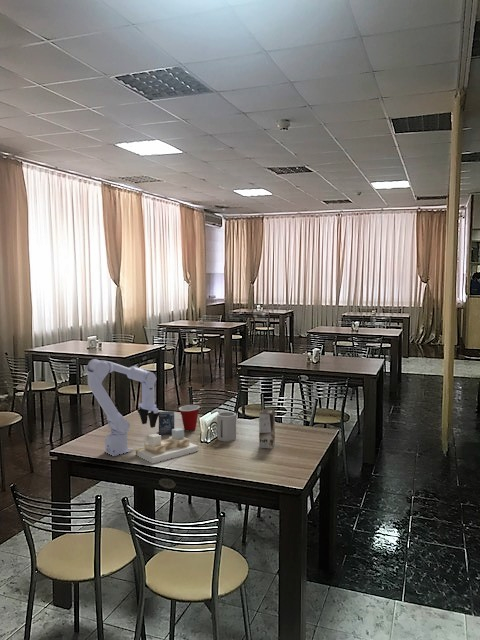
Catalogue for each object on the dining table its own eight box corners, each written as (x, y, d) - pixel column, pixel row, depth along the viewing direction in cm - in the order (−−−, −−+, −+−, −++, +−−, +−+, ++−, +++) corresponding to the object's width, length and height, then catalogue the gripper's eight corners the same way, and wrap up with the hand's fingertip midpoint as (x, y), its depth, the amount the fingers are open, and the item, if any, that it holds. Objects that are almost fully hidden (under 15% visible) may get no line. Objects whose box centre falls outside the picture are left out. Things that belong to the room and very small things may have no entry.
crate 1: (153, 446, 227) (153, 437, 227) (148, 444, 230) (148, 435, 230) (161, 444, 230) (161, 435, 229) (156, 442, 233) (156, 433, 232)
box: (158, 435, 262) (158, 414, 261) (159, 431, 267) (158, 411, 266) (174, 434, 263) (174, 413, 262) (174, 431, 268) (174, 410, 268)
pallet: (155, 454, 225) (155, 448, 225) (144, 449, 232) (144, 443, 231) (189, 445, 237) (189, 439, 237) (177, 441, 244) (177, 434, 243)
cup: (237, 435, 260) (236, 411, 259) (235, 441, 251) (234, 416, 250) (218, 435, 261) (218, 411, 260) (216, 440, 252) (216, 416, 251)
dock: (152, 463, 221) (152, 457, 221) (135, 455, 232) (135, 449, 231) (198, 451, 237) (198, 445, 237) (180, 443, 248) (180, 438, 247)
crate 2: (177, 439, 236) (176, 431, 235) (171, 437, 239) (171, 429, 238) (184, 438, 239) (184, 429, 238) (179, 436, 241) (178, 427, 241)
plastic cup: (177, 427, 274) (176, 405, 273) (197, 425, 278) (197, 403, 277) (181, 433, 264) (180, 410, 263) (202, 431, 267) (201, 408, 266)
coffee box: (272, 448, 240) (272, 414, 239) (258, 448, 241) (258, 413, 240) (275, 442, 249) (275, 409, 248) (261, 441, 250) (261, 408, 249)
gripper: (163, 398, 241) (164, 427, 242) (147, 393, 252) (148, 420, 253) (150, 400, 237) (150, 430, 238) (134, 395, 248) (135, 423, 249)
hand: (148, 425), depth 245 cm, fingers open, 7 cm apart
